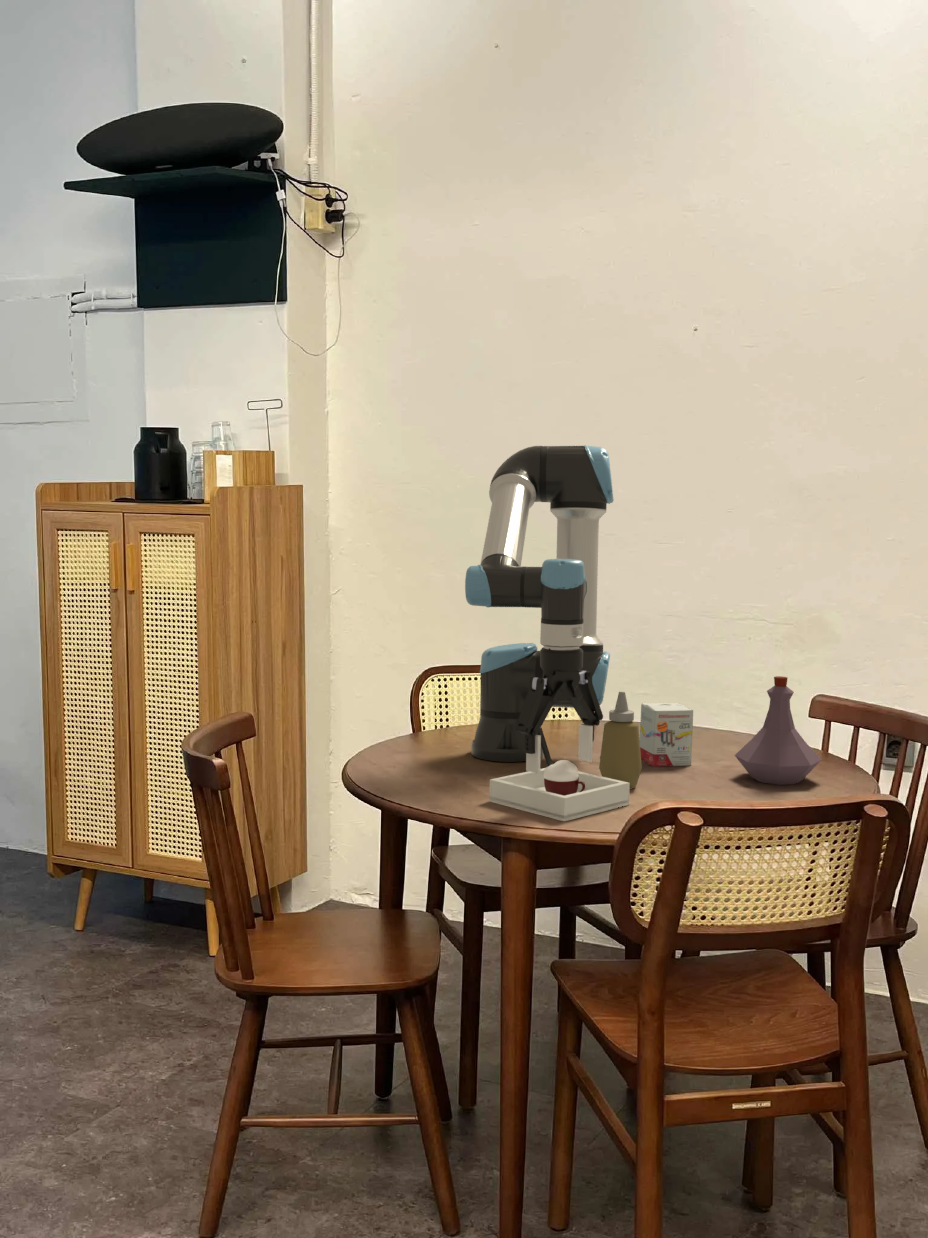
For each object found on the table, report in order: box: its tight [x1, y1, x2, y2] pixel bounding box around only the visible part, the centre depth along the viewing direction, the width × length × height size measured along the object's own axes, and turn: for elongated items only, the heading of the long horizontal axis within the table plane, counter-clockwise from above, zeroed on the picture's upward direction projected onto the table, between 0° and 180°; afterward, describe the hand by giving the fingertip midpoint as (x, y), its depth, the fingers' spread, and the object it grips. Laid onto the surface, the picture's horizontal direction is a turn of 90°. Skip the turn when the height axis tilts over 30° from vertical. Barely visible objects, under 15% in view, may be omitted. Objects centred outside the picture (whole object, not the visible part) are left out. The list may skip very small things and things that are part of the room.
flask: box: [734, 675, 822, 786], centre depth 241 cm, size 16×16×20 cm
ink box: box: [639, 702, 694, 768], centre depth 257 cm, size 9×9×12 cm
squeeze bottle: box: [598, 691, 643, 790], centre depth 234 cm, size 8×8×18 cm
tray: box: [489, 767, 630, 822], centre depth 222 cm, size 17×18×4 cm
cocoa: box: [537, 727, 585, 796], centre depth 222 cm, size 10×6×12 cm, turn 36°
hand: (559, 766), depth 221 cm, fingers open, 13 cm apart
